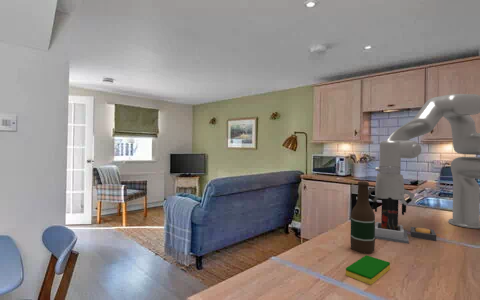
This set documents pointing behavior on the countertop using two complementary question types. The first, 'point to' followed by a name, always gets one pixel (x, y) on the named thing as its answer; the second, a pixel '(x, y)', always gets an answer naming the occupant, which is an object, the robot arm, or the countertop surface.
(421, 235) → the button housing
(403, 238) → the grey rectangular tray
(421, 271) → the countertop surface
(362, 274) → the dish sponge
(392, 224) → the deodorant
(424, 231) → the button
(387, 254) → the countertop surface
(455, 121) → the robot arm
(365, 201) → the beer bottle
